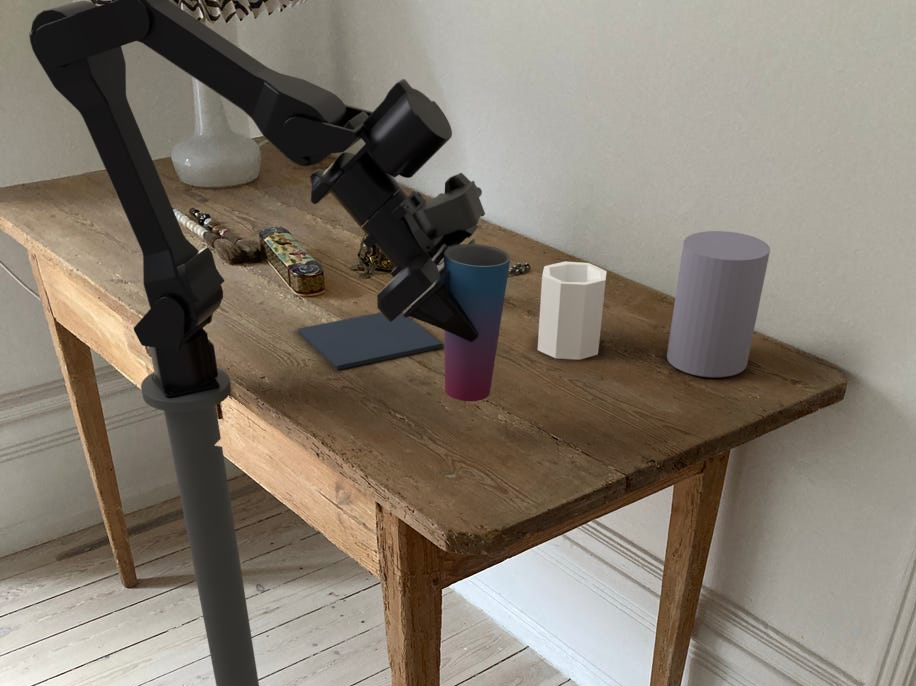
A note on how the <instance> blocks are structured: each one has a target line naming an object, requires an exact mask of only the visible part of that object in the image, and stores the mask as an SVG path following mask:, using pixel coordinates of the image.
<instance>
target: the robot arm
mask: <svg viewBox="0 0 916 686" xmlns="http://www.w3.org/2000/svg"><path fill="white" fill-rule="evenodd" d="M28 37H29V43H30V46H31V49H32V52H33V54H34V57H35V58H36V59H37V61H38V63H39V64H40V66H41V68H42V70H43V71H44V73H45V74H46V76H47V78H48V79H49V81H50V83H51V84H52V86H53V88H54V89H55V90H56V91H57V92H58V93H59V94H60V95H61V96H62V97H63V98H64V99H65V100H66V101H67V102H69V103H70V105H72V107H74V108H75V109H76V111H78V113H79V114H80V116H81V117H82V119H83V122H84V124H85V126H86V128H87V131H88V133H89V135H90V137H91V140H92V143H93V145H94V147H95V149H96V152H97V153H98V155H99V158H100V160H101V162H102V165H103V167H104V169H105V171H106V174H107V176H108V178H109V180H110V183H111V185H112V188H113V189H114V191H115V194H116V196H117V198H118V200H119V203H120V205H121V207H122V210H123V212H124V214H125V217H126V219H127V221H128V223H129V226H130V227H131V230H132V232H133V234H134V236H135V238H136V239H135V240H136V241H137V243H138V246H139V248H140V251H141V253H142V278H143V279H142V280H143V281H142V283H143V289H144V291H145V294H146V298H147V301H148V305H149V310H148V311H147V312H146V313H145V314H144V315H143V316H142V317H141V318H140V320H139V321H138V322H137V323H136V325H134V326H133V332H134V333H135V336H136V338H137V339H138V341H139V343H140V345H141V346H143V347H146V348H147V347H148V348H149V352H150V357H151V362H152V369H153V372H154V373H153V372H152V373H153V374H152V375H151V376H152V379H153V381H154V382H155V384H156V385H157V386H158V388H159V389H160V390H161V392H162V393H163V395H164V396H165V397H166V398H174V397H179V396H183V395H188V394H193V393H198V392H202V391H207V390H212V389H217V388H219V387H220V386H219V382H218V381H217V380H216V379H215V377H217V376H218V370H217V368H218V363H217V357H216V351H215V344H213V342H212V341H211V340H210V339H209V336H208V332H207V331H206V330H205V329H204V328H205V327H206V326H207V325H209V324H211V323H212V320H213V317H214V313H215V312H216V311H217V310H218V309H219V308H220V306H221V303H222V301H223V299H224V290H223V286H222V284H224V283H225V278H224V277H223V276H222V275H221V274H220V272H219V270H218V268H217V266H216V262H215V258H214V254H213V252H212V250H211V248H210V247H204V248H202V249H200V250H199V249H198V248H197V247H196V246H194V245H193V244H192V242H190V241H189V240H188V239H187V237H186V236H185V234H184V233H183V230H182V227H181V226H180V222H179V220H178V218H177V216H176V213H175V210H174V208H173V206H172V203H171V201H170V199H169V197H168V194H167V192H166V190H165V187H164V184H163V182H162V179H161V177H160V175H159V173H158V170H157V168H156V166H155V163H154V160H153V158H152V156H151V154H150V151H149V149H148V146H147V144H146V142H145V139H144V137H143V134H142V132H141V130H140V127H139V125H138V122H137V119H136V117H135V115H134V113H133V111H132V108H131V106H130V104H129V101H128V96H127V65H126V64H127V63H126V60H125V55H124V52H123V48H122V47H123V46H125V45H129V44H133V43H135V42H138V43H140V44H143V45H144V46H146V47H147V48H148V49H150V50H152V51H153V52H155V53H156V54H158V55H159V56H161V57H162V58H164V59H165V60H167V61H168V62H170V63H171V64H173V65H175V67H177V68H179V69H181V70H182V71H183V72H185V73H186V74H188V75H189V76H191V77H192V78H193V79H195V80H197V82H200V83H201V84H203V85H204V86H206V87H207V88H209V89H210V90H212V91H213V92H215V93H216V94H218V95H219V96H220V97H223V99H225V100H227V101H228V102H230V103H231V104H233V105H234V106H235V107H237V108H238V109H240V110H242V111H243V112H244V113H245V114H246V115H247V116H248V117H249V118H251V120H252V121H253V122H254V124H255V126H256V127H257V129H258V130H259V131H260V134H261V135H262V136H263V138H264V139H265V140H267V141H268V142H269V144H271V145H272V146H273V147H274V148H275V149H276V150H278V152H280V153H281V154H282V155H283V156H284V157H285V158H286V159H288V160H289V161H290V162H291V163H293V164H295V165H298V166H301V167H306V168H307V167H310V166H314V165H318V164H320V163H321V162H323V160H325V159H326V158H328V157H329V156H331V155H333V154H339V156H338V157H336V159H335V160H334V161H332V163H331V164H330V165H329V166H328V168H326V169H321V168H317V169H316V170H314V171H313V172H311V174H309V178H310V182H311V189H310V202H311V203H312V204H313V205H317V204H318V203H319V202H321V201H322V200H323V199H325V198H326V197H327V196H328V195H329V194H331V196H333V197H334V199H335V200H336V201H337V202H338V203H339V204H340V206H341V207H342V208H343V210H345V212H347V213H348V215H349V216H350V217H351V218H352V220H354V222H355V223H356V224H357V225H358V226H359V228H360V229H361V230H362V231H363V232H364V233H365V234H366V237H365V238H364V239H363V240H362V243H363V245H365V246H366V248H367V249H368V250H370V249H371V248H372V247H373V246H374V245H375V246H376V247H377V248H378V249H379V251H380V252H381V253H382V254H383V255H384V257H385V258H386V259H387V260H388V261H389V262H390V263H391V265H392V266H393V267H394V268H393V269H392V271H391V272H389V274H390V276H392V277H393V278H392V279H390V281H388V282H387V283H386V284H385V285H384V287H383V288H382V289H381V290H380V291H379V293H377V295H376V299H377V301H376V302H377V304H376V305H377V309H378V310H379V311H380V313H381V312H382V313H383V315H384V316H385V317H386V318H387V319H388V320H389V321H390V322H392V321H393V320H394V319H395V318H396V317H397V316H398V315H400V314H401V313H402V312H403V314H402V315H403V316H404V317H405V318H407V317H409V318H411V319H416V320H418V321H421V322H423V323H426V324H429V325H431V326H433V327H436V328H439V329H441V330H443V331H444V330H445V331H448V332H450V333H452V334H454V335H456V336H459V337H461V338H463V339H465V340H468V341H470V342H473V341H474V340H475V339H476V338H478V336H479V334H478V332H477V330H476V329H475V327H474V325H473V324H472V322H471V321H470V319H469V318H468V316H467V315H466V313H465V312H464V310H463V309H462V307H461V306H460V304H459V303H458V302H457V300H456V299H455V297H454V296H453V294H452V293H451V290H450V270H449V271H448V272H446V273H445V274H444V251H445V250H446V249H447V248H449V247H451V246H454V245H460V244H463V242H465V240H466V239H467V238H468V239H470V238H471V237H472V235H474V233H476V231H477V230H478V228H479V226H478V224H479V222H480V218H481V217H484V216H485V215H486V212H485V209H484V207H483V204H482V201H481V199H480V197H481V196H482V194H483V191H482V188H481V187H478V186H477V185H476V182H475V180H470V179H469V178H468V177H467V176H466V175H465V174H464V173H463V172H459V173H457V174H455V175H452V176H450V177H448V179H447V180H446V181H445V182H444V192H440V193H439V194H438V195H437V196H435V197H433V198H430V199H428V200H427V199H426V198H424V196H423V195H422V194H421V193H420V192H419V191H415V190H413V191H412V192H411V193H410V194H408V193H407V192H406V191H405V189H404V188H403V187H402V186H401V185H400V183H399V182H398V181H397V180H396V179H395V178H396V177H398V176H400V177H403V178H405V179H411V178H412V177H413V176H415V174H416V173H417V172H419V170H421V169H422V167H423V166H425V165H426V163H427V162H428V161H430V160H431V159H432V157H433V156H434V155H436V154H437V152H439V150H440V149H442V148H443V146H445V144H447V143H448V142H449V141H450V139H452V137H453V130H452V127H451V123H450V122H449V120H448V118H447V115H446V114H445V112H444V111H443V110H442V109H441V107H440V106H439V105H438V103H437V102H436V101H435V100H431V99H430V98H429V97H428V96H427V95H425V94H424V93H423V92H422V91H420V90H418V89H416V88H413V87H412V86H411V85H410V84H409V82H408V81H407V80H406V79H405V78H402V79H400V80H399V81H397V82H396V83H395V84H394V85H393V86H392V87H391V88H390V89H389V91H388V92H387V93H386V96H385V97H384V99H383V100H382V101H381V103H379V104H378V106H377V107H376V108H375V109H374V110H373V111H371V110H367V109H364V108H359V107H356V106H353V105H348V104H345V103H344V102H343V100H342V99H341V98H340V97H339V96H338V95H336V94H335V93H334V92H331V91H330V90H327V89H326V88H323V87H321V86H318V85H317V84H314V83H312V82H310V81H308V80H306V79H303V78H299V77H295V76H292V75H288V74H284V73H281V72H279V71H276V70H274V69H272V68H270V67H268V66H266V65H264V64H263V63H262V62H261V61H259V60H258V59H256V58H255V57H253V56H252V55H250V54H248V53H247V52H245V51H244V50H243V49H241V48H240V47H238V46H237V45H235V44H234V43H233V42H231V41H230V40H228V39H226V38H225V37H223V36H222V35H221V34H219V33H218V32H216V31H214V30H213V29H212V28H210V27H209V26H207V25H206V24H204V23H203V22H201V21H200V20H198V19H197V18H196V17H194V16H193V15H191V14H189V13H188V12H187V11H185V10H184V9H182V8H181V7H179V6H178V5H176V4H175V3H173V2H172V1H170V0H113V1H110V2H107V3H104V4H101V5H97V4H96V3H94V2H91V1H89V0H78V1H77V0H76V1H74V2H70V3H66V4H63V5H59V6H55V7H52V8H48V9H44V10H42V11H41V12H39V13H37V14H36V16H35V17H34V18H33V21H32V23H31V28H30V31H29V34H28ZM361 140H362V141H363V142H364V145H363V146H362V147H361V148H360V149H359V150H358V151H357V152H356V153H355V154H354V153H353V152H348V151H347V150H348V149H350V148H351V147H353V146H354V145H355V144H357V143H358V142H360V141H361ZM346 151H347V152H346ZM467 244H476V240H475V238H472V239H471V240H470V241H469V242H468V243H467Z"/></svg>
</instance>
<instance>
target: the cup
mask: <svg viewBox="0 0 916 686" xmlns="http://www.w3.org/2000/svg"><path fill="white" fill-rule="evenodd" d="M510 263H511V255H510V254H509V253H508V252H507V251H505V250H503V249H501V248H498V247H495V246H491V245H487V244H480V243H475V244H468V243H462V244H460V245H454V246H451V247H449V248H447V249H446V250H445V251H444V274H445V273H446V272H448V271H449V270H450V290H451V293H452V294H453V296H454V297H455V299H456V300H457V302H458V303H459V304H460V306H461V307H462V309H463V310H464V312H465V313H466V315H467V316H468V318H469V319H470V321H471V322H472V324H473V325H474V327H475V329H476V330H477V332H478V334H479V336H478V338H476V339H475V340H474V341H473V342H470V341H468V340H465V339H463V338H461V337H459V336H456V335H454V334H452V333H450V332H448V331H445V330H443V331H444V333H443V334H444V335H443V336H444V392H445V394H446V395H447V396H449V397H450V398H451V399H454V400H457V401H460V402H461V401H462V402H479V401H483V400H485V399H487V398H488V397H489V396H490V394H491V388H492V382H493V375H494V368H495V361H496V356H497V350H498V349H497V348H498V344H499V343H498V342H499V337H500V330H501V323H502V318H503V317H502V316H503V309H504V303H505V297H506V290H507V284H508V278H509V277H508V276H509V270H510Z"/></svg>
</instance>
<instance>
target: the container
mask: <svg viewBox="0 0 916 686" xmlns="http://www.w3.org/2000/svg"><path fill="white" fill-rule="evenodd" d="M770 252H771V247H770V246H769V245H768V243H767V242H765V241H764V240H762V239H760V238H759V237H755V236H752V235H749V234H744V233H739V232H736V231H735V232H734V231H726V230H725V231H723V230H709V231H708V230H707V231H699V232H695V233H691V234H690V235H688V236H686V237H685V238H684V240H683V244H682V250H681V256H680V264H679V271H678V277H677V284H676V292H675V298H674V306H673V312H672V319H671V325H670V331H669V339H668V344H667V345H668V346H667V351H666V352H667V353H666V359H667V362H669V364H670V365H671V366H672V367H674V368H675V369H678V370H679V371H681V372H683V373H684V374H688V375H690V376H695V377H699V378H706V379H724V378H730V377H733V376H736V375H738V374H740V373H742V372H743V371H744V370H746V369H747V366H748V362H749V358H750V357H749V356H750V352H751V347H752V344H753V343H752V342H753V337H754V332H755V328H756V322H757V319H758V318H757V317H758V313H759V306H760V303H761V297H762V293H763V287H764V283H765V278H766V274H767V269H768V263H769V257H770Z"/></svg>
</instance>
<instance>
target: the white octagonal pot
mask: <svg viewBox="0 0 916 686" xmlns="http://www.w3.org/2000/svg"><path fill="white" fill-rule="evenodd" d="M606 282H607V270H605V269H604V268H601V267H599V266H596V265H594V264H592V263H590V262H581V261H580V262H578V261H577V262H576V261H561V262H556V263H552V264H548V265H544V267H543V271H542V275H541V286H540V287H541V290H540V302H539V303H540V304H539V306H540V307H539V322H538V336H537V351H538V352H541V353H543V354H545V355H547V356H549V357H551V358H554V359H560V360H561V359H562V360H575V361H576V360H577V361H578V360H579V361H580V360H584V359H587V358H590V357H594V356H597V355H598V354H599V349H600V340H601V339H600V338H601V330H602V320H603V310H604V301H605V290H606Z"/></svg>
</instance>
